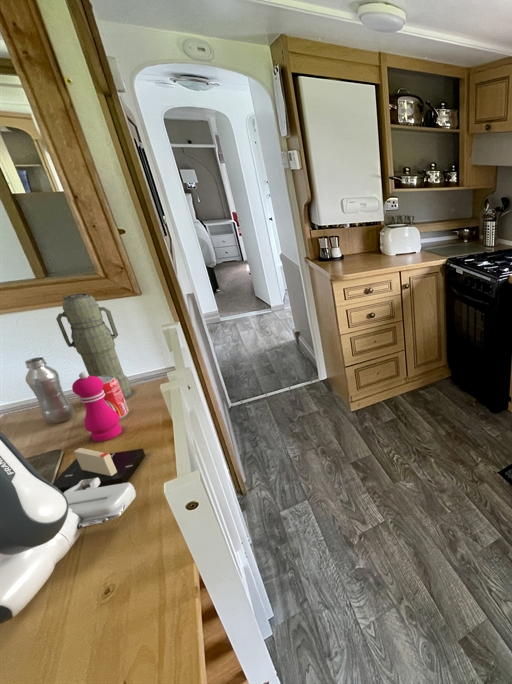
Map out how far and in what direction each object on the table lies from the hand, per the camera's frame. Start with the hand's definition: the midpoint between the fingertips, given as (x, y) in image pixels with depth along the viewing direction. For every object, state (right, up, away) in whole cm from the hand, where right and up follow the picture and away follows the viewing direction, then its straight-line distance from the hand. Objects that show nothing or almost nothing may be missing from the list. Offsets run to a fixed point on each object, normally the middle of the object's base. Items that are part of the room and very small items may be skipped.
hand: (91, 480), depth 83 cm
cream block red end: (-6, -1, +8) cm, 10 cm away
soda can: (-25, +7, +32) cm, 41 cm away
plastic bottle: (-39, +6, +30) cm, 50 cm away
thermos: (-35, +11, +43) cm, 56 cm away
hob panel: (-7, -3, +9) cm, 11 cm away
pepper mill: (-20, +3, +24) cm, 32 cm away
